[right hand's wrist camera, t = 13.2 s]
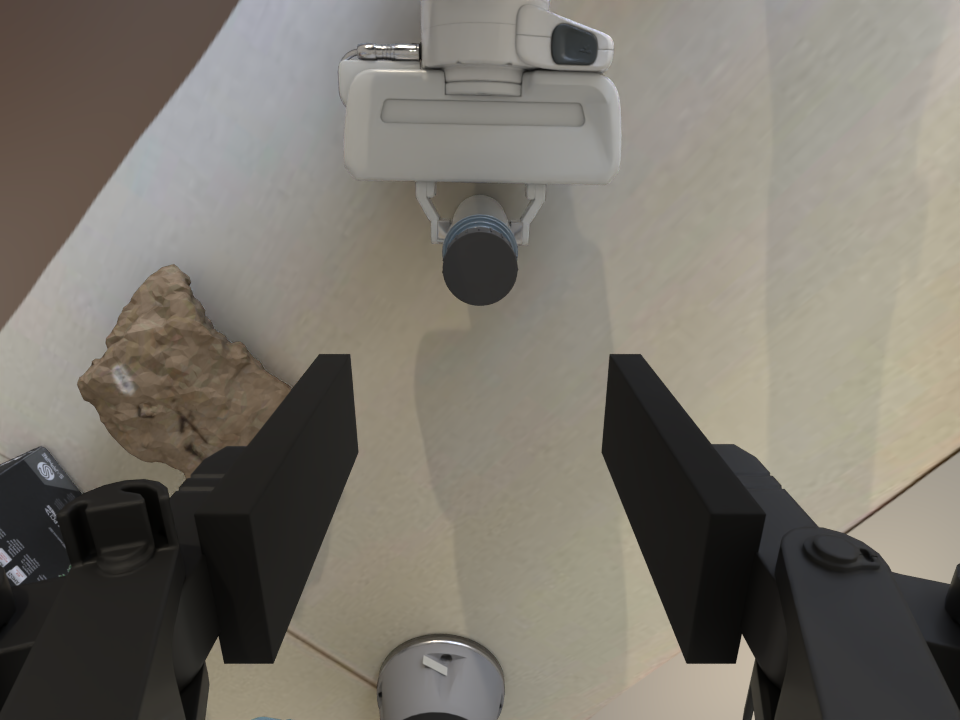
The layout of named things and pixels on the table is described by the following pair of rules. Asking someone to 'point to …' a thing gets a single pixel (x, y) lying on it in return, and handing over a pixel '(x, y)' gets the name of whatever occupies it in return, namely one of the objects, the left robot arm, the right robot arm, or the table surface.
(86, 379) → the stone
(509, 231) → the bottle
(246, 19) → the table surface
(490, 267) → the cap
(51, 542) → the graphics card box
